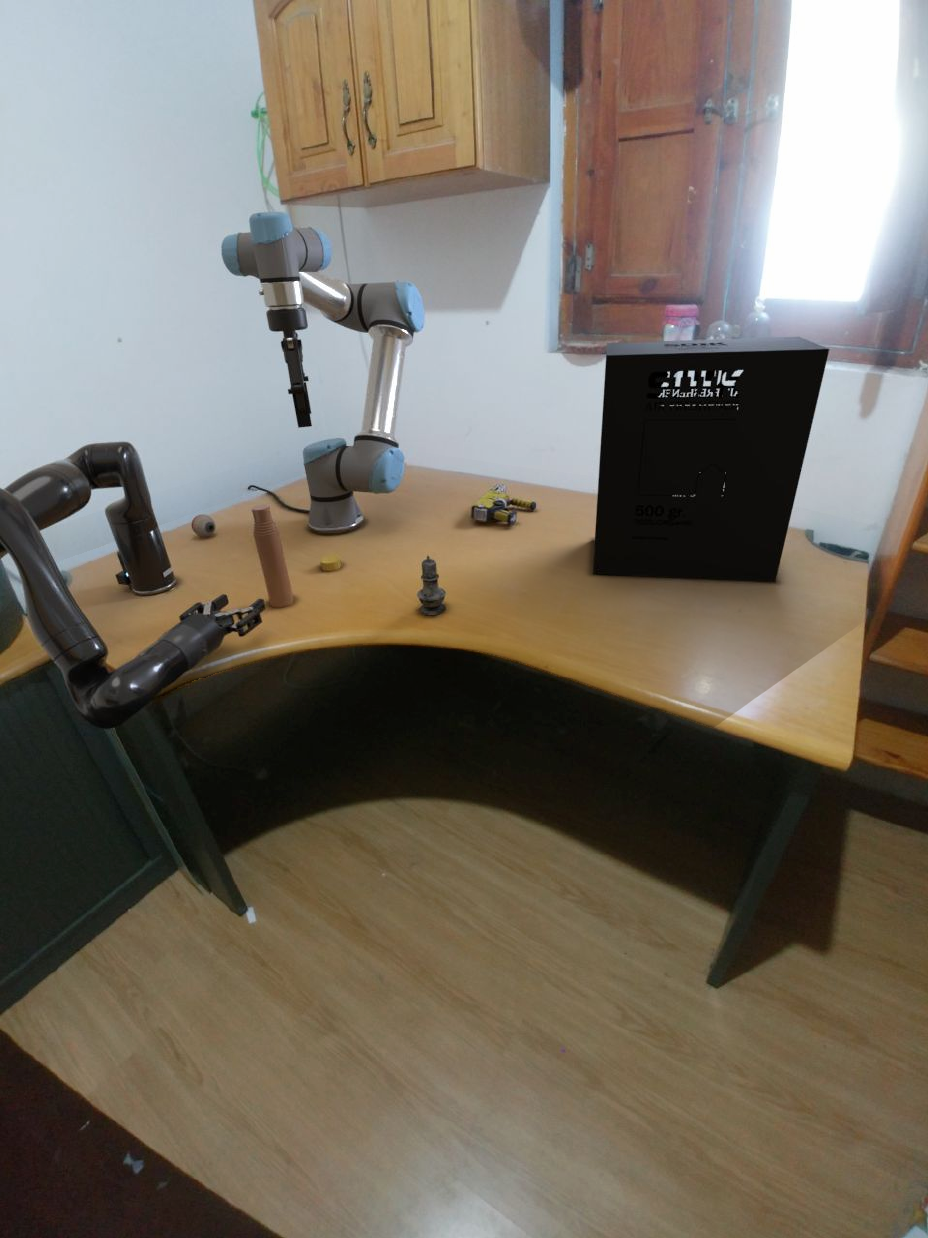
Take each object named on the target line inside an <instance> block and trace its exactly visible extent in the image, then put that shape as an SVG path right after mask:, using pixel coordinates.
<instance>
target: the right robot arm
mask: <svg viewBox="0 0 928 1238" xmlns="http://www.w3.org/2000/svg"><path fill="white" fill-rule="evenodd" d="M291 220H292V219H291V216H289V214H288V213H287V212H284V211H264V212H263V211H262V212H261V211H260V212H255V213H252V214H251V215H250V216H249V219H248V223H249V229H250V231H249V232H237V233H233V234H229V235H227V236H225V237H224V238H223V240H222V242H221V245H220V247H221V258H222V261H223V264H224V266H225V268H226V269H227V271H229V273H230V274H232V275H234V276H236V277H245V278H246V277H248V276H249V277H250V276H251V277H254V278H256V279H259V282H260V287H261V289H258V295H259V296H263V303H264V306H265V307H266V308H268V310H266V312H265V313H266V314H265V315H266V320H267V325H268V326H267V327H268V329H269V331H270V332H275V333H276V332H277V333H278V332H280V333H281V332H282V333H283V338H282V340H281V341H280V346H281V350H282V352H283V359H284V362H285V364H286V367H287V371H288V379H289V383H290V388H288V389H287V393H288V395H291V396H292V401H293V406H294V412H295V418H296V423H297V428H298V429H300V428H309V427H313V424H312V418H311V415H312V409H311V404H310V403H311V402H310V397H309V392H308V385H307V382H309V381H310V380H309V376H308V375H306V373H305V370H304V366H303V365H304V364H303V362H304V355H303V342H302V339H301V338H300V339H299V334H298V333H297V332H296V331H302V330H303V331H304V330H306V329H308V328H309V323H308V318H307V312H306V309H305V308H304V307H303V305H305V304H307V305H309V306H310V307H313V308H315V309H316V310H319V311H320V313H321V315H322V316H323V317H324V318H325V319H327V320H329V321H331V322H333V323H334V324H337V325H339V326H341V327H344V328H346V329H349V330H351V331H355V332H358V333H363V334H364V333H365V334H368V336H369V337H370V338H371V340H372V345H371V353H370V360H369V361H370V362H369V368H368V375H367V385H366V391H365V398H364V399H365V400H364V407H363V414H362V421H361V422H362V423H361V430H360V431H359V432H358V433H356V434H355V435H354V437H353V445H347V441H346V439H345V438H342V437H334V438H328V439H323V440H320V441H319V440H318V441H316V442H313V443H309V444H308V445H306V446H305V447H304V448H303V450H302V457H303V458H302V460H303V467H304V471H305V477H306V481H307V486H308V492H309V498H310V507H309V509H302V508H297V507H293V506H291V505H288V504H286V503H285V502H283V501H282V500H281V499H280V498H279V497H278V496H277V494H275V493H274V492H272V491H271V490H270V489H267V488H262V487H260V486H258V485H255V484H251V485H249V486H248V487H247V490H250V489H251V488H254V489H257V490H258V491H260V492H261V491H262V492H264V493H267V494H270V495H272V496H273V498H275V499H276V500H277V502H278V503H280V504H281V506H283V507H284V508H286V509H288V510H290V511H291V510H292V511H295V512H300V513H308V521H307V524H308V528H309V529H308V530H310V531H311V532H312V533H314V534H317V535H323V536H324V535H325V536H327V535H329V536H331V535H339V534H340V535H341V534H345V533H350V532H353V531H355V530H357V529H359V528H361V527H362V526H363V525H364V523H365V519H364V514H363V512H362V510H361V508H360V505H359V504H358V501H357V500H356V498H355V495H354V493H355V492H357V493H371V494H375V495H380V494H390V493H393V492H395V491H396V490H397V489H398V487H400V485H401V483H402V481H403V478H404V475H405V470H406V462H405V459H406V458H405V455H404V453H403V450H401V449H400V448H399V447H400V444H399V442H398V441H397V439H396V438H395V432H396V425H397V418H398V411H399V403H400V395H401V387H402V381H403V373H404V366H405V358H406V349H407V347H409V346H411V345H412V343H413V342H414V336H415V335H414V334H415V333H419V332H422V330H423V328H424V326H425V325H424V324H425V308H424V303H423V299H422V295H421V293H420V291H419V289H418V287H417V286H416V285H415V284H414V283H413V282H410V281H399V280H396V281H390V282H389V281H387V282H386V281H385V282H369V283H366V282H365V283H348V282H347V283H346V282H344V281H342V280H340V279H331V278H329V277H327V276H326V275H324V274H323V273H321V272H320V271H324V270H325V269H327V268H328V267H329V266H330V263H332V257H333V247H332V243H331V241H330V239H329V237H328V236H327V235H326V233H325V232H324V231H322V230H319V229H317V228H313V227H311V226H308V227H293V223H292V221H291Z"/></svg>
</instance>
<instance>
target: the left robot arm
mask: <svg viewBox="0 0 928 1238" xmlns="http://www.w3.org/2000/svg"><path fill="white" fill-rule="evenodd" d="M138 452H139V451H138V450H137V449H136V447H135V446H134V445H133V444H132V443H131V442H129V441H123V440H122V441H120V440H119V441H106V442H93V443H88V444H86V445H83V446H81V447H80V448H78V449H77V450H75V451H74V452H72V453H71V454H70V455H68V456H67V457H65V458H62V459H59V460H56V461H53V462H50V463H47V464H43V465H41V466H39V467H36V468H35V469H34V468H33V469H32V470H30V471H28V472H26V473H25V474H23V475H21V476H19V477H18V478H16V479H15V480H13V481H12V482H11V483H10V484H8V485H7V486H6V487H4V488H1V487H0V560H1V559H3V558H4V557H5V556H7V555H9V556H10V558H11V560H12V561H13V563H14V565H15V567H16V569H17V572H18V575H19V579H20V583H21V585H22V590H23V596H24V602H25V608H26V609H25V610H26V615H27V620H28V623H29V627H30V629H31V631H32V634H33V635H34V637H35V639H36V640H37V642H38V643H39V645H40V646H41V647H42V649H43V650H44V651H45V653H46V654H47V656H48V657H49V658H50V659H51V661H52V662H53V664H54V665H55V666H56V667H57V669H58V670H59V671H60V673H61V676H62V678H63V681H64V684H65V686H66V689H67V691H68V693H69V695H70V698H71V700H72V702H73V704H74V706H75V708H76V710H77V712H78V713H79V714H80V715H81V717H82V718H83V719H84V720H85V721H86V722H87V723H89V724H90V725H91V726H93V727H96V728H98V729H102V730H110V729H115V728H117V727H119V726H121V725H123V724H124V723H125V722H126V721H128V720H129V719H130V718H133V716H135V715H136V714H137V713H139V712H140V711H141V710H143V709H144V708H145V707H146V706H147V705H148V704H149V703H150V702H151V701H152V700H154V698H156V697H157V696H158V695H159V694H160V693H161V692H162V691H163V690H165V689H166V688H167V687H170V685H172V684H173V683H175V682H176V681H177V680H178V679H180V678H181V677H182V676H183V675H185V674H186V673H187V672H189V671H190V670H192V669H194V668H195V667H196V666H198V665H199V664H200V663H201V662H203V661H204V660H205V659H206V658H207V657H208V656H210V655H211V654H212V653H213V652H214V651H216V650H217V649H218V648H220V647H221V645H222V643H223V640H224V638H225V636H227V635H229V634H231V633H233V632H234V633H237V635H238V637H240V638H242V637H243V638H244V637H245V636H246V635H248V634H249V633H250V632H251V631H253V630H254V629H256V628H257V627H258V626H259V625H261V624H262V623H263V619H262V615H261V613H262V612H264V611H265V610H266V604H265V600H264V599H263V598H258V599H256V600H255V601H254V602H253V603H251V604H250V605H249V606H248V607H245V608H243V609H239V608H233V609H231V610H227V611H226V610H225V611H222V609H224V608H226V606H228V605H229V597H228V595H227V594H226V593H222V594H220V595H219V596H217V597H216V598H214V599H213V600H212V601H207V602H205V603H204V604H203V603H202V602H201V601H200V602H196V603H194V604H193V605H191V606H189V608H188V609H186V610H185V611H184V612H182V613H181V614H179V616H178V618H179V622H178V623H177V624H175V625H174V626H173V627H171V628H170V629H168V630H167V631H165V632H164V633H163V634H162V635H161V636H160V637H159V638H158V639H157V640H155V641H154V642H153V643H151V644H150V645H149V646H148V647H146V648H144V649H143V650H142V651H140V652H139V653H138V654H137V655H136V656H135V657H134V658H132V659H130V660H128V661H127V662H125V663H123V664H121V665H120V666H118V667H117V668H114V670H112V671H111V672H110V671H109V668H108V666H107V659H108V656H109V649H108V648H109V647H108V646H107V644H106V642H105V641H104V639H103V638H102V637H101V635H100V634H99V633H98V631H97V630H96V628H95V627H94V626H93V624H92V623H91V621H90V620H89V619H88V618H87V616H86V614H85V613H84V612H83V611H82V609H81V607H80V606H79V604H78V603H77V601H76V599H75V598H74V596H73V595H72V593H71V591H70V589H69V587H68V585H67V583H66V582H65V579H64V577H63V575H62V573H61V571H60V569H59V567H58V565H57V563H56V561H55V558H54V557H53V554H52V552H51V550H50V549H49V547H48V544H47V543H46V540H45V539H44V537H43V534H42V532H41V531H43V530H45V529H48V528H49V527H51V526H54V525H55V524H58V523H60V522H62V521H64V520H67V519H68V518H70V517H71V516H73V515H75V514H76V513H78V512H80V511H81V510H83V509H84V508H85V507H86V506H87V505H88V504H89V502H90V500H91V497H92V490H93V491H94V490H101V489H102V490H103V489H115V488H122V489H123V495H124V496H123V497H121V498H120V499H118V500H115V501H112V502H111V503H110V504H108V505H107V506H106V507H105V508H104V515H105V517H106V520H107V522H108V525H109V528H110V531H111V533H112V536H113V539H114V541H115V544H116V547H117V549H118V550H117V552H116V556H117V559H118V561H119V563H120V564H119V565H120V567H121V569H122V570H121V571H119V572H118V573H116V574H115V578H116V581H117V583H118V585H119V586H120V585H122V586H127V587H128V588H129V591H132V592H133V594H135V595H138V596H152V595H157V594H160V593H164V592H167V591H168V590H170V589H172V588H173V587H175V586H176V585H177V583H178V582H177V581H178V580H177V577H176V576H175V573H174V569H173V567H172V563H171V561H170V558H169V555H168V551H167V548H166V545H165V543H164V539H163V536H162V533H161V529H160V527H159V524H158V522H157V517H156V514H155V512H154V508H153V503H152V498H151V492H150V490H149V487H148V482H147V479H146V475H145V472H144V467H143V463H142V460H141V457H140V455H139V453H138ZM246 614H247V615H246ZM235 615H236V618H237V622H236V623H235V618H234V616H235ZM243 615H245V616H244V617H243Z"/></svg>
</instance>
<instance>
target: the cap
mask: <svg viewBox="0 0 928 1238" xmlns="http://www.w3.org/2000/svg"><path fill="white" fill-rule="evenodd" d="M319 561H320V562H319V563H320V567H321V570H323V571H325V572H333V571H337V570H339V569H341V566H342V563H341V559H340V557H339V556H338V555H326V556H323V557H322V558H320V560H319Z"/></svg>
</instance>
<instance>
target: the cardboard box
mask: <svg viewBox="0 0 928 1238" xmlns="http://www.w3.org/2000/svg"><path fill="white" fill-rule="evenodd" d="M605 351H606V352H605V367H604V369H605V370H604V383H603V384H604V385H603V399H602V400H603V401H602V415H601V431H600V433H601V434H600V448H599V465H598V481H597V497H596V511H595V512H596V514H595V529H594V531H595V532H594V547H593V548H594V550H593V566H592V575H608V576H628V577H629V576H631V577H654V578H655V577H656V578H675V579H676V578H677V579H678V578H679V579H701V580H702V579H703V580H724V581H725V580H726V581H747V582H770V583H776V582H777V577H778V573H779V568H780V565H781V560H782V556H783V552H784V547H785V543H786V538H787V534H788V531H789V530H788V529H789V525H790V521H791V518H792V517H791V516H792V514H793V513H792V512H793V508H794V504H795V500H796V496H797V491H798V488H799V482H800V477H801V474H802V470H803V465H804V460H805V456H806V453H807V448H808V444H809V440H810V435H811V431H812V427H813V422H814V418H815V414H816V409H817V405H818V400H819V397H820V391H821V387H822V383H823V380H824V379H823V378H824V375H825V370H826V366H827V363H828V362H827V361H828V358H829V353H830V348H828V347H826V346H824V345H820V344H819V343H815V342H813V341H811V340H808V339H805V338H803V337H800V336H780V337H778V336H775V337H749V338H748V337H747V338H745V337H744V338H721V339H720V338H717V339H716V338H715V339H689V340H688V339H687V340H684V339H683V340H657V341H655V340H654V341H628V342H627V341H626V342H624V341H623V342H607V343H606V349H605ZM720 371H721V372H720ZM737 371H742V372H740V374H739V375H734V374H735V373H736V372H737ZM678 372H682V376H681V377H680V382H679V385H677V386H676V382H677V377H676V374H677V373H678ZM689 372H694V373H693V382H695V385H691V384H692V376H689ZM702 372H705V375H704V376H702V374H703V373H702ZM719 375H720V379H719ZM724 375H725V377H724ZM723 378H724V382H734V383H733V385H725V384H723ZM705 382H710V385H704V384H705ZM664 383H665V384H666V383H667V386H663V385H664Z"/></svg>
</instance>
